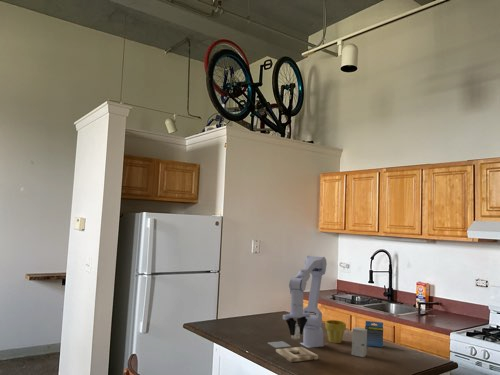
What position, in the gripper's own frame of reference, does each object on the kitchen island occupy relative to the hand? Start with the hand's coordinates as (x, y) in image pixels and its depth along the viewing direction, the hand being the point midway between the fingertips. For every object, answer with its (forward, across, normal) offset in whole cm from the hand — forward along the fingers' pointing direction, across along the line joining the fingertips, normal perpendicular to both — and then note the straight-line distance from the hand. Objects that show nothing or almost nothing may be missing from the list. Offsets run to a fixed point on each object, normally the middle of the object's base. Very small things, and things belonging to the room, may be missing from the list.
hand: (296, 334), depth 191 cm
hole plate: (+9, 0, +1) cm, 9 cm away
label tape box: (+9, -47, +3) cm, 48 cm away
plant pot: (+9, -34, -10) cm, 36 cm away
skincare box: (+9, -28, +12) cm, 32 cm away
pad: (+9, -2, -16) cm, 19 cm away
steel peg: (+2, 0, 0) cm, 2 cm away
